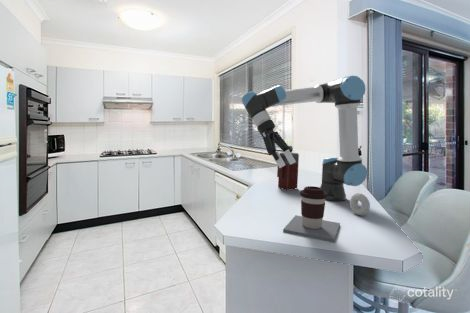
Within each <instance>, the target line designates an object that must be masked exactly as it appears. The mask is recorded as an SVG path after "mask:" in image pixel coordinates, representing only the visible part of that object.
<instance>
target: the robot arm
mask: <svg viewBox="0 0 470 313" xmlns="http://www.w3.org/2000/svg"><path fill="white" fill-rule="evenodd" d="M365 93H366V83H365V82H364V80H363V79H362V78H360V77H359V76H357V75H348V76H344V77H341V78H338V79H334V80H332V81H328V82H325V83H321V84H316V85H315V86H313V87H302V88H294V89H293V88H292V89H285V88H284V87H283V86H282V85H276V86H273V87H271V88H269V89H266V90H263V91H261V92H258V93H257V92H256V91H254V90H252V91H248V92H246V93H245V94H243V96H242V98H241V102H242V105H243V106H244V109H245V110H246V112H247V113H248V115H249V117H250V118H251V120H252V121H253V123H252V124H253V125H254V126H256V127H257V132H259V133H258V134H260V135H261V137H262V140H263V142H264V145H265V148H266V152H267V154H268V155H269V156H271V157H273V160H274V162H275V163H276V165H277V167H278V166H279V168H281V167H283V166H285V163H284V161H283V160H282V158H281V156H280V152H279V151H278V150H277V147H276V145H277V146H278V147H279V149H280V150H282V153H284V155H285V156H286V158H287V160H288V162H289V163H290V165H291V164H293V163H294V162H296V161H295V159H294V158H293V156H292V154H291V153H292V152H291V153H290V151H289V149H290V147H289V146H290V145H288V143H287V142H286V141H285V140H284V139H283V138H282V136H281V135H280V134H279V132H278V131H274V129H275V128H276V124H275V122H274V121H273V119H272V118H271V116H270V114H269V112H268V111H267V109H268V108H271V107H279V106H286V105H288V106H289V105H295V104H296V105H297V104H303V103H304V104H305V103H313V102H315V103H317V104H322V103H323V104H324V103H327V104H328V103H329V104H330V103H331V104H334V107H336V108H337V110H338V112H337V113H338V133H339V134H338V137H339V139H338V141H339V157H325V158H324V159H323V160H322V165H321V166H322V168H321V170H322V171H321V184H320V188H322V189H323V191H324V192H326V193H327V198H325V201H331V202H332V201H333V202H342V201H345V200H347V194H346V190H345V187H344V185H346V186H350V187H351V186H352V187H358V186H360V185H362V184H363V183H364V182H365V181H366V179H367V177H368V169H367V167H366V166H365V165H364V164H363V159H362V157H361V156H360V155H359V131H358V129H359V128H358V107H359V106H360V105H361V99H362V98H363V97H364V95H365Z"/></svg>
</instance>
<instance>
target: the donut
mask: <svg viewBox="0 0 470 313" xmlns="http://www.w3.org/2000/svg"><path fill="white" fill-rule="evenodd" d="M359 202H360V204H361V205H360V206H361V207H359V205H358V204H359ZM349 206H350V209H351V211H352V212H353V213H354V214H355V215H357V216H362V217H363V216H365V215H367V214H368V213H369V211H370V208H371V203H370V200H369V199H368V197H367V196H366V195H364V194H362V193H354V194H353V195H352V196H351V197H350V200H349Z"/></svg>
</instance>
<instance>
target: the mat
mask: <svg viewBox="0 0 470 313" xmlns="http://www.w3.org/2000/svg"><path fill="white" fill-rule="evenodd" d="M340 226H341V223H340V222H336V221H331V220H330V221H329V220H324V219H322V226H321V228H319V229H310V228H306V227H304V226H303V225H302V215H295V216H293V218H291V220H290V221H289V222H288V223H287V224H286V225H285V226H284V228H283V230H282V231H283V233H288V234H293V235H298V236H303V237H307V238H312V239H317V240H322V241H327V242H330V243H335V242H336V239H337V235H338V232H339V228H340Z"/></svg>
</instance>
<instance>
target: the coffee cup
mask: <svg viewBox="0 0 470 313" xmlns="http://www.w3.org/2000/svg"><path fill="white" fill-rule="evenodd" d="M299 195H300V197H301V199H300V208H301V209H300V211H301V216H302V225H303V226H304V227H306V228H310V229H319V228H321V226H322V220H324V219H323V218H324V216H325V208H326V200H325V198H327V193H326V192H324V191H323V189H322V188H320V187H319V186H311V185H310V186H309V185H308V186H305V187H303V189H301V190H300V191H299Z"/></svg>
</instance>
